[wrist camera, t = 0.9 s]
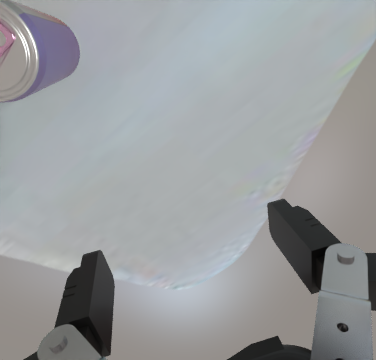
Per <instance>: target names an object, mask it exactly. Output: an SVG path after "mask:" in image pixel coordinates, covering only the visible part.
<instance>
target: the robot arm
mask: <svg viewBox="0 0 376 360" xmlns="http://www.w3.org/2000/svg"><path fill="white" fill-rule="evenodd" d="M267 207H268V219H269V229H270V233H271V236H272V238H273V240H274V242H275V243H276V245H277V246H278V248H279V249H280V250H281V252H282V253H283V255H284V256H285V257H286V259H287V260H288V262H289V263H290V264H291V266H292V267H293V269H294V270H295V271H296V273H297V274H298V276H299V277H300V278H301V280H302V281H303V283H304V284H305V285H306V287H307V288H308V290H309V291H310V292H311V294H313V293H317V292H319V297H318V305H317V313H316V321H315V328H314V336H313V344H312V351H311V350H309V349H306V348H303V347H299V346H295V345H282V343H281V341H280V339H279V337H278V336H275V337H272V338H269V339H266V340H263V341H260V342H257V343H253V344H251V345H249V346H248V347H246V348H244V349H243V350H241V351H240V352H238V353H237V354H235V355H234V356H232V357H231V358H229V359H227V360H373V347H372V322H371V321H372V320H371V310H375V311H376V253H364V252H363V251H362V250H361V249H360V248H358V247H356V246H354V245H350V244H344V243H341V242H340V241H339V240H338V239H337V238H336V237H335V236H334V235H333V234H332V233H331V232H330V231H329V230H328V229H327V228H326V227H325V226H324V225H322V224H321V223H320V222H319V221H318V220H317V219H315V217H314V216H313V215H312V214H311V213H310V212H309V211H308V210H306V209H304V208H301V207H299V206H295V207H292V206H291V205H290V204H289V203H288V202H287V201H286V200H285V199H281V200H277V201H273V202H270V203H268V205H267ZM114 288H115V286H114V279H113V275H112V273H111V270H110V268H109V266H108V264H107V262H106V259H105V257H104V255H103V253H102V251H101V250H98V251H94V252H91V253H87V254H84V255H83V257H82V261H81V266H80V267H79V268H75V269H74V270H73V271H72V273H71V274H70V275H69V277H68V278H67V282H66V286H65V290H64V293H63V299H62V301H61V304H60V308H59V312H58V316H57V320H56V324H55V328H54V329H53V330H52V331H50V332H49V333H48V334H47V335H46V336H45V337H44V338H43V340H42V341H41V343H40V345H39V347H38V351H37V352H35V353H34V354H32V355H31V356H29V357H27V358H26V359H24V360H107V359H106V358H105V357H106V356H109V355H110V353H111V338H112V321H113V305H114Z"/></svg>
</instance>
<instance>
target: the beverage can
mask: <svg viewBox="0 0 376 360" xmlns="http://www.w3.org/2000/svg"><path fill="white" fill-rule="evenodd" d="M79 58H80V50H79V45H78V41H77V39H76V37H75V35H74V33H73V32H72V31H71V29H70V28H69V27H68V26H67V25H66V24H65V23H63V22H62V21H61V20H59V19H57V18H55V17H52V16H50V15H47V14H45V13H42V12H40V11H37V10H34V9H32V8H29V7H27V6H24V5H21V4H19V3H16V2H14V1H11V0H0V102H12V101H17V100H20V99H23V98H25V97H27V96H29V95H31V94H33V93H35V92H37V91H39V90H41V89H43V88H46V87H48V86H50V85H52V84H54V83H56V82H58V81H60V80H62V79H64V78H66V77H68V76H69V75H71V74H72V73H73V72H74V70H75V69H76V67H77V65H78V62H79Z"/></svg>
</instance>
